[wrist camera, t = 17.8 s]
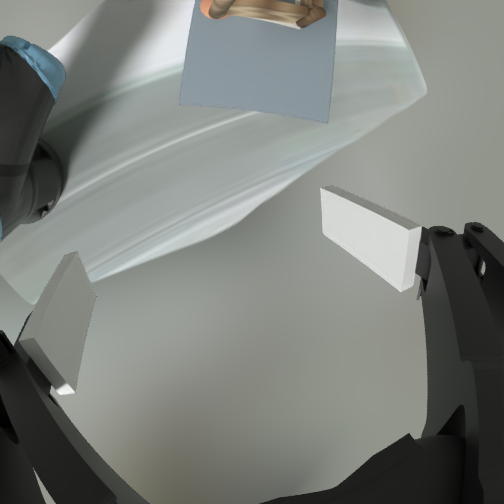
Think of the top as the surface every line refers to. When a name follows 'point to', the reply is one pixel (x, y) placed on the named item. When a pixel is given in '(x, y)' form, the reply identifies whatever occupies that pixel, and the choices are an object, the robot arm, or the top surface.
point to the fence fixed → (311, 12)
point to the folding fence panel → (258, 10)
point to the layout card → (260, 63)
